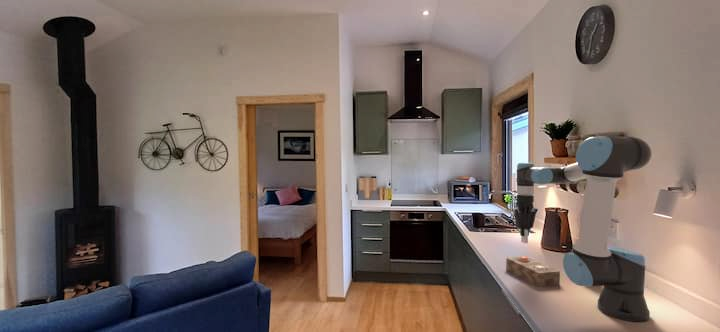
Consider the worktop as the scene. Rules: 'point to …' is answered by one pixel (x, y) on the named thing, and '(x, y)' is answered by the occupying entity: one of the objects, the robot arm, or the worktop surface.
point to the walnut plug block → (533, 272)
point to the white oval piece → (540, 267)
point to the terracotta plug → (523, 259)
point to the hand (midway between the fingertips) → (524, 242)
